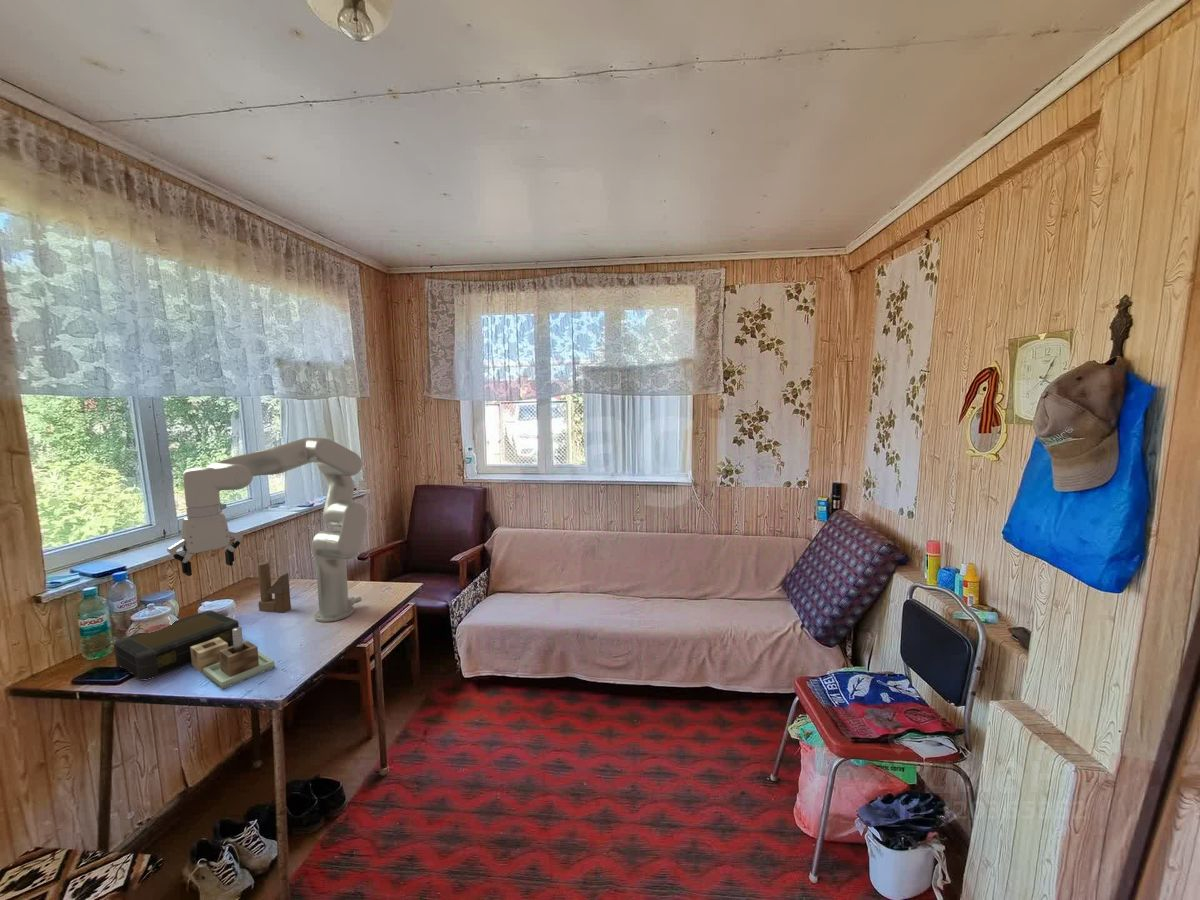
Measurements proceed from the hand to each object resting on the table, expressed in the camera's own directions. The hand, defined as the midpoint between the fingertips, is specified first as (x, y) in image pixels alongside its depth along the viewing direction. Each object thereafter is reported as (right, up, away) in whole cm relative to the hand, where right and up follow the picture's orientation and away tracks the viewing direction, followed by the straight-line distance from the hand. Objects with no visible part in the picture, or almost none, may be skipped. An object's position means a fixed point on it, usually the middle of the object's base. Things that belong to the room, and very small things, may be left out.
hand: (209, 569), depth 139 cm
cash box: (-19, -30, +13) cm, 38 cm away
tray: (+7, -30, +2) cm, 31 cm away
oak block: (-5, -30, +7) cm, 31 cm away
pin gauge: (+7, -27, +2) cm, 28 cm away
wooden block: (-10, -26, +44) cm, 52 cm away
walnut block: (+7, -29, +3) cm, 30 cm away
